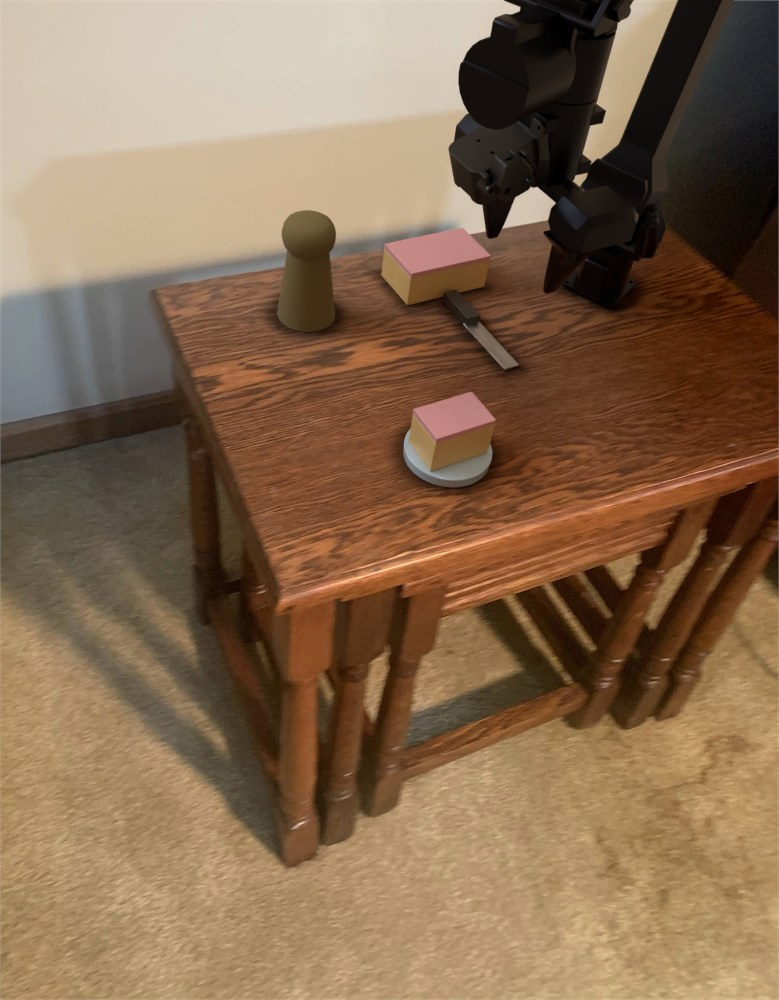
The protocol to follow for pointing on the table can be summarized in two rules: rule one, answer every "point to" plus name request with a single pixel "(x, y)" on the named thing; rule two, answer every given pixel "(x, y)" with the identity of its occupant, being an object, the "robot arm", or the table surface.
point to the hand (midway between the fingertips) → (519, 264)
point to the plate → (448, 468)
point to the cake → (434, 265)
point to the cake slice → (451, 430)
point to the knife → (477, 329)
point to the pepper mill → (307, 272)
